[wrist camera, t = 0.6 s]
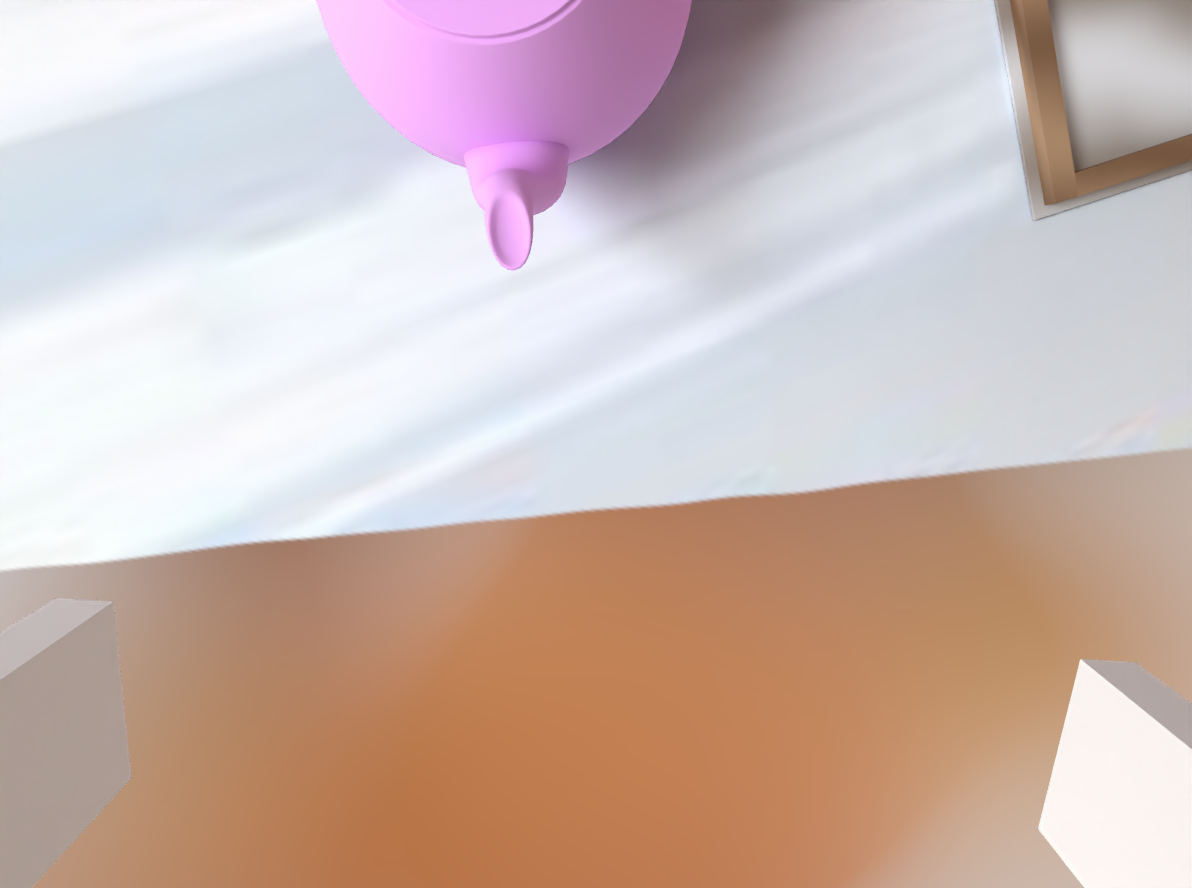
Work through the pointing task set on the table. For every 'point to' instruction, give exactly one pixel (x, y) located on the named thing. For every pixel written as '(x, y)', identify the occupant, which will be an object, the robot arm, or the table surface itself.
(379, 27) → the teapot
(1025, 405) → the table surface
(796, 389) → the table surface
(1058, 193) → the wooden picture frame
